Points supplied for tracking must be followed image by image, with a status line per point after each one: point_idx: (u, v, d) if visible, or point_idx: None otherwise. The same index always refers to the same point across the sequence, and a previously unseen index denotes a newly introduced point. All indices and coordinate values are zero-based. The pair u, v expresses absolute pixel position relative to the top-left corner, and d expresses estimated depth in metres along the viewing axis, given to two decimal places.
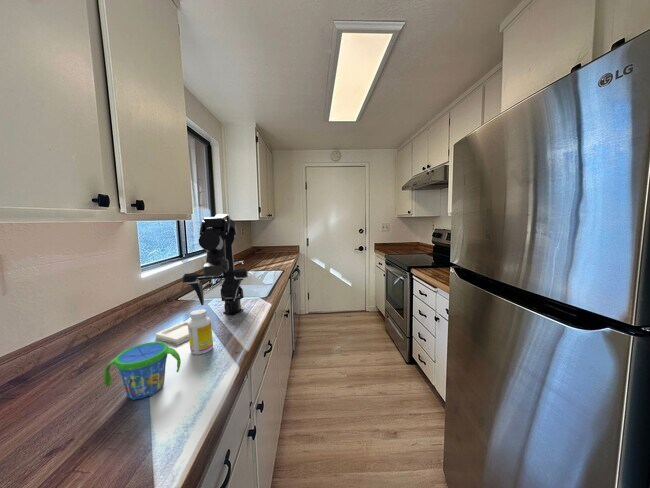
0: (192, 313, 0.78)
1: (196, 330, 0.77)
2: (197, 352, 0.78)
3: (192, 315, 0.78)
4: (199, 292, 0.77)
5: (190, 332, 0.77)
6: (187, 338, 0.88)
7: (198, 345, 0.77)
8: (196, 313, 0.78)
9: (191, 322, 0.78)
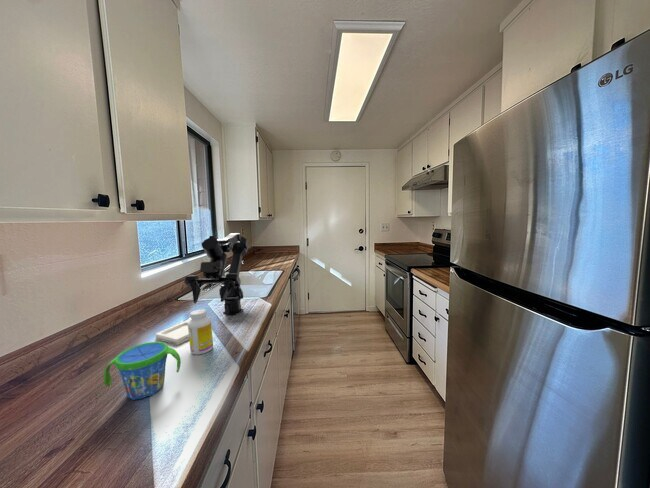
0: (192, 313, 0.78)
1: (196, 330, 0.77)
2: (197, 352, 0.78)
3: (192, 315, 0.78)
4: (194, 291, 0.89)
5: (190, 332, 0.77)
6: (187, 338, 0.88)
7: (198, 345, 0.77)
8: (196, 313, 0.78)
9: (191, 322, 0.78)
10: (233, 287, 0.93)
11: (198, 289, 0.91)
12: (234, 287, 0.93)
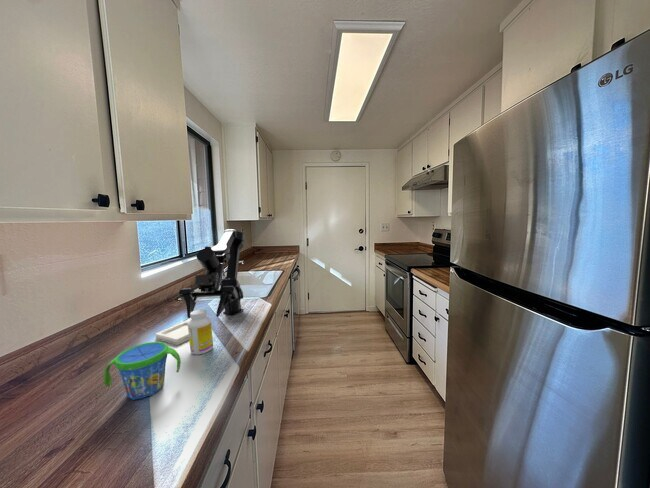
0: (192, 313, 0.78)
1: (196, 330, 0.77)
2: (197, 352, 0.78)
3: (192, 315, 0.78)
4: (189, 305, 0.84)
5: (190, 332, 0.77)
6: (187, 338, 0.88)
7: (198, 345, 0.77)
8: (196, 313, 0.78)
9: (191, 322, 0.78)
10: (229, 300, 0.89)
11: (193, 303, 0.87)
12: (231, 300, 0.89)
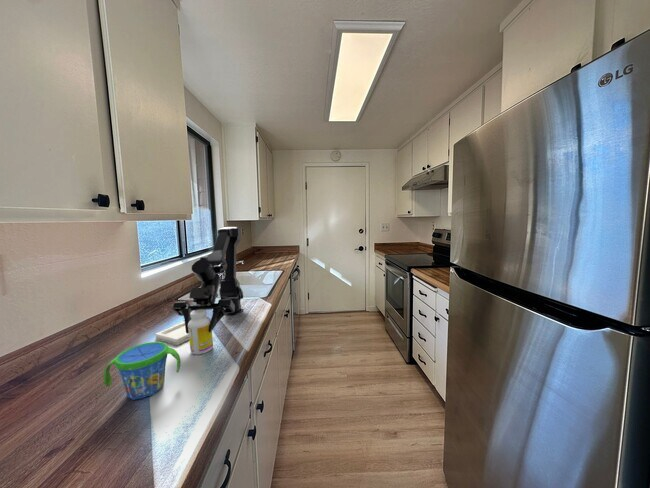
0: (192, 313, 0.78)
1: (196, 330, 0.77)
2: (197, 352, 0.78)
3: (192, 315, 0.78)
4: (187, 319, 0.80)
5: (190, 332, 0.77)
6: (187, 338, 0.88)
7: (198, 345, 0.77)
8: (196, 313, 0.78)
9: (191, 322, 0.78)
10: (223, 314, 0.85)
11: None
12: (224, 314, 0.85)
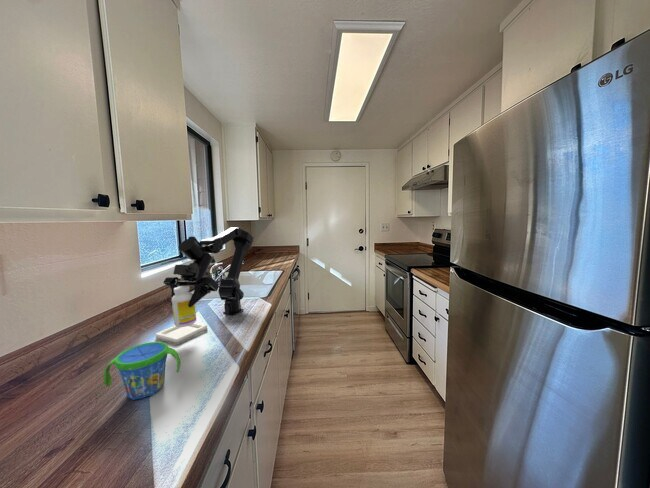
0: (175, 288, 0.84)
1: (177, 304, 0.82)
2: (178, 325, 0.83)
3: (174, 290, 0.83)
4: (173, 293, 0.86)
5: (172, 305, 0.83)
6: (187, 338, 0.88)
7: (178, 318, 0.82)
8: (178, 288, 0.83)
9: (173, 296, 0.83)
10: (207, 291, 0.88)
11: None
12: (208, 292, 0.88)
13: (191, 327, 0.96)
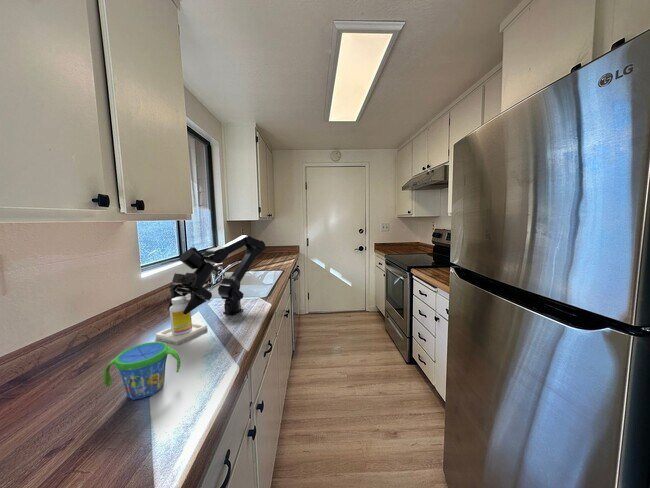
0: (173, 298, 0.91)
1: (172, 314, 0.89)
2: (173, 333, 0.90)
3: None
4: None
5: None
6: (187, 338, 0.88)
7: (173, 326, 0.89)
8: (175, 299, 0.90)
9: (171, 306, 0.91)
10: (202, 301, 0.92)
11: None
12: (203, 301, 0.92)
13: None
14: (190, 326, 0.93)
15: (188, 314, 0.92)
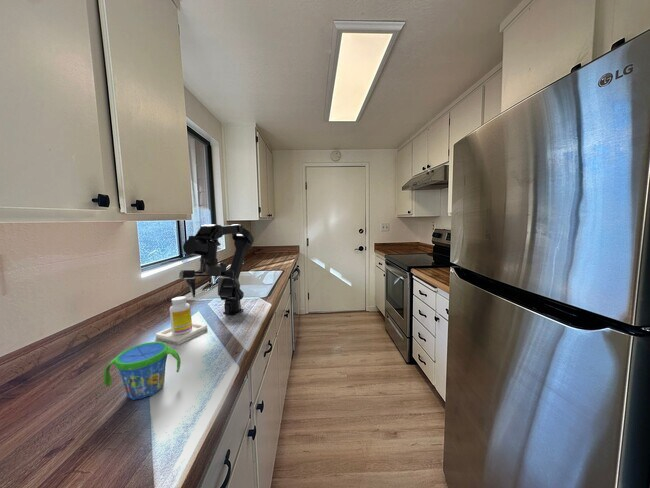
0: (173, 298, 0.91)
1: (172, 314, 0.89)
2: (173, 332, 0.90)
3: None
4: (194, 286, 0.93)
5: (170, 314, 0.91)
6: (187, 338, 0.88)
7: (173, 326, 0.90)
8: (175, 299, 0.90)
9: (171, 306, 0.91)
10: None
11: None
12: None
13: None
14: (190, 326, 0.93)
15: (188, 314, 0.92)
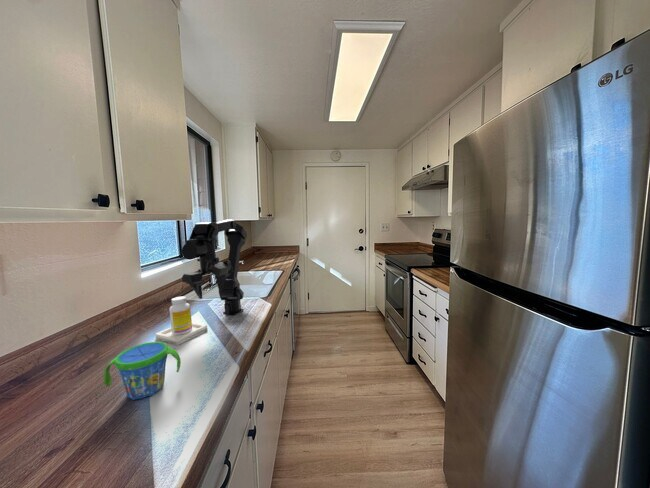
0: (173, 298, 0.91)
1: (172, 314, 0.89)
2: (173, 333, 0.90)
3: None
4: (200, 288, 0.92)
5: None
6: (187, 338, 0.88)
7: (173, 326, 0.89)
8: (175, 299, 0.90)
9: (171, 306, 0.91)
10: None
11: None
12: None
13: None
14: (190, 326, 0.93)
15: (188, 314, 0.92)
